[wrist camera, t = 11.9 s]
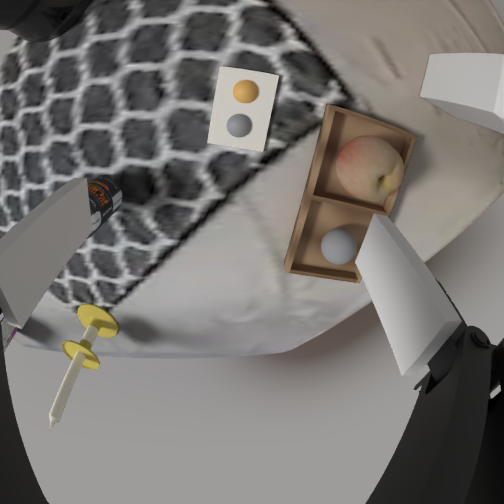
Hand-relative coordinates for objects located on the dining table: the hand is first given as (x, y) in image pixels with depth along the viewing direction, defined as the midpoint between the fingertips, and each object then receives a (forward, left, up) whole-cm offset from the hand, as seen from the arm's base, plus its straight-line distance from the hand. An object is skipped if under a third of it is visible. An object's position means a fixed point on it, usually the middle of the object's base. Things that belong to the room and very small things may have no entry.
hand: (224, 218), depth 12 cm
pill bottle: (+11, -19, -25) cm, 33 cm away
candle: (+40, -25, -25) cm, 53 cm away
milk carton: (-15, +25, -25) cm, 38 cm away
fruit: (0, +15, -24) cm, 28 cm away
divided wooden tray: (+6, +15, -24) cm, 29 cm away
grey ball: (+12, +15, -24) cm, 30 cm away
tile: (-3, -1, -24) cm, 25 cm away
